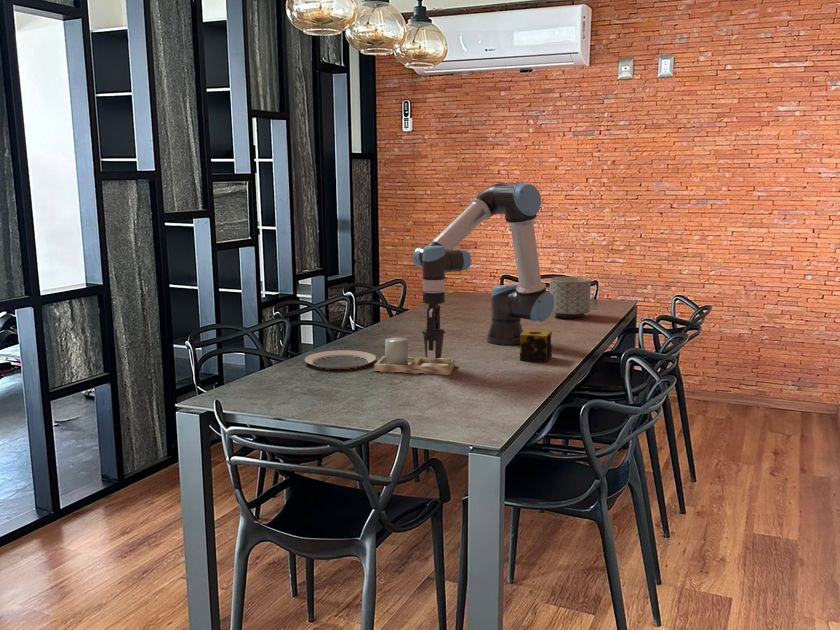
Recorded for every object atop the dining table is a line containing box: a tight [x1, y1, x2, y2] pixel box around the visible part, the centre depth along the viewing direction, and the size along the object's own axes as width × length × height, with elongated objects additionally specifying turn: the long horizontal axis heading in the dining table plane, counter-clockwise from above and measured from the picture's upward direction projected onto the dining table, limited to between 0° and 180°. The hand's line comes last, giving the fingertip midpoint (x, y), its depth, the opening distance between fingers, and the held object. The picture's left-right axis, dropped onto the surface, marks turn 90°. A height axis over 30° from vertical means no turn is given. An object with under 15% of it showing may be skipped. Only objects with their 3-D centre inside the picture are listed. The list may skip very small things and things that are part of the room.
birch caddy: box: [373, 355, 456, 376], centre depth 271 cm, size 26×13×2 cm, turn 80°
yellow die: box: [519, 329, 553, 363], centre depth 284 cm, size 10×10×10 cm
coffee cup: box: [421, 328, 446, 359], centre depth 268 cm, size 8×8×10 cm
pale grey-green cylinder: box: [384, 337, 409, 365], centre depth 271 cm, size 8×8×9 cm
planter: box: [549, 276, 592, 319], centre depth 369 cm, size 19×19×18 cm
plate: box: [304, 349, 377, 370], centre depth 280 cm, size 26×26×2 cm
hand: (433, 356), depth 269 cm, fingers closed on coffee cup, 8 cm apart
